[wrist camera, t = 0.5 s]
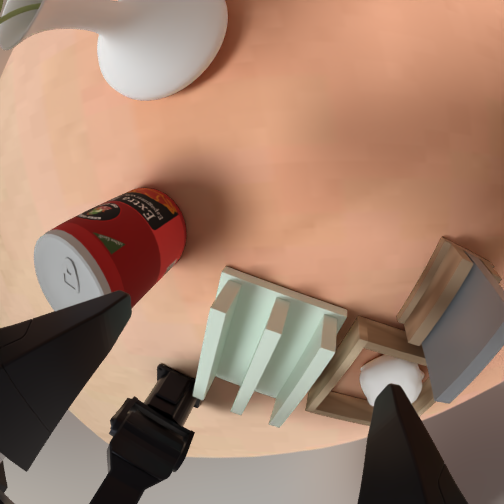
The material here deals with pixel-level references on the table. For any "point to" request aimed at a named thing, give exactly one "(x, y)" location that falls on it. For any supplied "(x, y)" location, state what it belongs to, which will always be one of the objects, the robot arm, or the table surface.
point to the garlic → (390, 377)
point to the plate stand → (437, 289)
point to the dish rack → (266, 342)
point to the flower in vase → (131, 37)
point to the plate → (465, 334)
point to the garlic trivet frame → (356, 339)
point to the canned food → (111, 249)
